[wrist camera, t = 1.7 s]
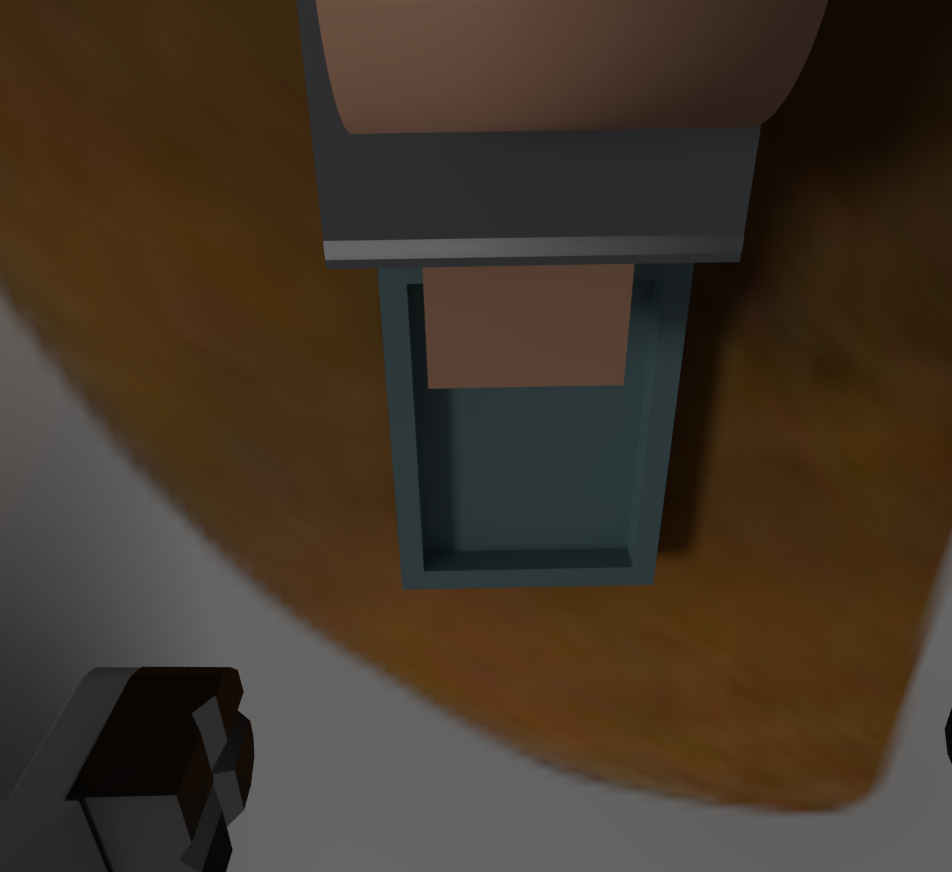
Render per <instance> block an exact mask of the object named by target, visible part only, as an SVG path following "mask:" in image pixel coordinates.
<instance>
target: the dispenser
mask: <svg viewBox="0 0 952 872" xmlns="http://www.w3.org/2000/svg"><path fill="white" fill-rule="evenodd" d="M827 3H828V0H297V8H298V17H299V26H300V35H301V44H302V53H303V62H304V71H305V80H306V89H307V97H308V106H309V115H310V124H311V133H312V142H313V151H314V160H315V169H316V178H317V187H318V196H319V205H320V214H321V223H322V232H323V241H324V254H325V259H326V268H327V269H358V268H416V267H474V266H532V265H590V264H648V263H706V262H740V256H741V252H742V248H743V242H744V231H745V224H746V218H747V212H748V205H749V199H750V193H751V186H752V180H753V174H754V167H755V161H756V155H757V148H758V142H759V136H760V129H761V124H762V123H764V122H765V121H767V120H768V119H769V118H770V117H771V116H772V115H773V114H774V113H775V112H776V111H777V110H778V109H779V107H780V106H781V105H782V103H783V102H784V101H785V99H786V98H787V96H788V94H789V93H790V91H791V90H792V88H793V86H794V85H795V83H796V81H797V79H798V77H799V75H800V73H801V71H802V69H803V67H804V65H805V62H806V60H807V58H808V55H809V53H810V51H811V48H812V46H813V44H814V41H815V38H816V35H817V33H818V30H819V27H820V24H821V22H822V19H823V16H824V12H825V9H826V6H827Z"/></svg>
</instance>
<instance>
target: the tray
mask: <svg viewBox="0 0 952 872" xmlns="http://www.w3.org/2000/svg"><path fill="white" fill-rule="evenodd" d="M377 270H378V282H379V295H380V308H381V321H382V333H383V346H384V359H385V372H386V384H387V397H388V410H389V423H390V435H391V448H392V461H393V474H394V486H395V499H396V512H397V525H398V537H399V550H400V563H401V576H402V588H403V589H451V588H502V587H553V586H604V585H653V581H654V573H655V566H656V558H657V550H658V542H659V535H660V527H661V519H662V511H663V503H664V496H665V488H666V480H667V472H668V464H669V457H670V449H671V441H672V433H673V426H674V418H675V410H676V402H677V394H678V387H679V379H680V371H681V363H682V355H683V348H684V340H685V332H686V324H687V317H688V309H689V301H690V293H691V285H692V278H693V270H694V263H648V264H634V275H633V286H632V297H631V308H630V319H629V331H628V342H627V353H626V364H625V375H624V385H605V386H549V387H494V388H439V389H428V371H427V350H426V330H425V309H424V289H423V269H422V267H416V268H377Z"/></svg>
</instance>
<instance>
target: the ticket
mask: <svg viewBox="0 0 952 872" xmlns="http://www.w3.org/2000/svg"><path fill="white" fill-rule="evenodd" d="M422 269H423V289H424V309H425V330H426V350H427V371H428V389H439V388H494V387H549V386H605V385H624V375H625V364H626V353H627V342H628V331H629V319H630V308H631V297H632V286H633V275H634V264H590V265H532V266H474V267H422Z"/></svg>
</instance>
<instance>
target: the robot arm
mask: <svg viewBox="0 0 952 872" xmlns="http://www.w3.org/2000/svg"><path fill="white" fill-rule="evenodd" d="M242 695H243V688H242V684H241V680H240V676H239V673H238V670H236V669H234V668H231V667H141V668H114V667H112V668H111V667H110V668H109V667H105V668H104V667H103V668H102V667H96V668H94V669H93V670H92V671H90V672H89V673H88V674H86V675H85V676H84V677H83V678H82V679H81V681H80V682H79V684H78V685H77V687H76V688H75V690H74V692H73V693H72V695H71V697H70V698H69V700H68V702H67V703H66V705H65V706H64V708H63V710H62V711H61V713H60V715H59V716H58V718H57V720H56V721H55V723H54V724H53V726H52V728H51V729H50V731H49V733H48V734H47V736H46V737H45V739H44V741H43V742H42V744H41V746H40V747H39V749H38V750H37V752H36V754H35V756H34V757H33V759H32V760H31V762H30V764H29V765H28V767H27V769H26V770H25V772H24V773H23V775H22V777H21V778H20V780H19V782H18V783H17V785H16V786H15V788H14V790H13V791H12V793H11V795H10V796H9V798H8V800H7V801H6V802H0V872H226V870H227V867H228V863H229V860H230V857H231V853H232V850H233V849H232V846H231V842H230V838H229V834H228V830H227V826H228V825H229V824H230V823H231V822H232V821H233V820H234V819H235V818H236V817H237V816H238V815H239V814H240V813H241V812H242V811H243V810H244V808H245V805H246V801H247V797H248V794H249V790H250V786H251V780H252V772H253V764H254V740H253V732H252V727H251V723H250V720H249V719H247V718H246V717H245V716H244V715H243V714H241V713H240V712H239V711H238V707H239V704H240V701H241V698H242ZM945 736H946V745H947V754H948V756H949V759H950V761H951V763H952V709H951V712H950V715H949V717H948V721H947V724H946V727H945Z"/></svg>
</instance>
